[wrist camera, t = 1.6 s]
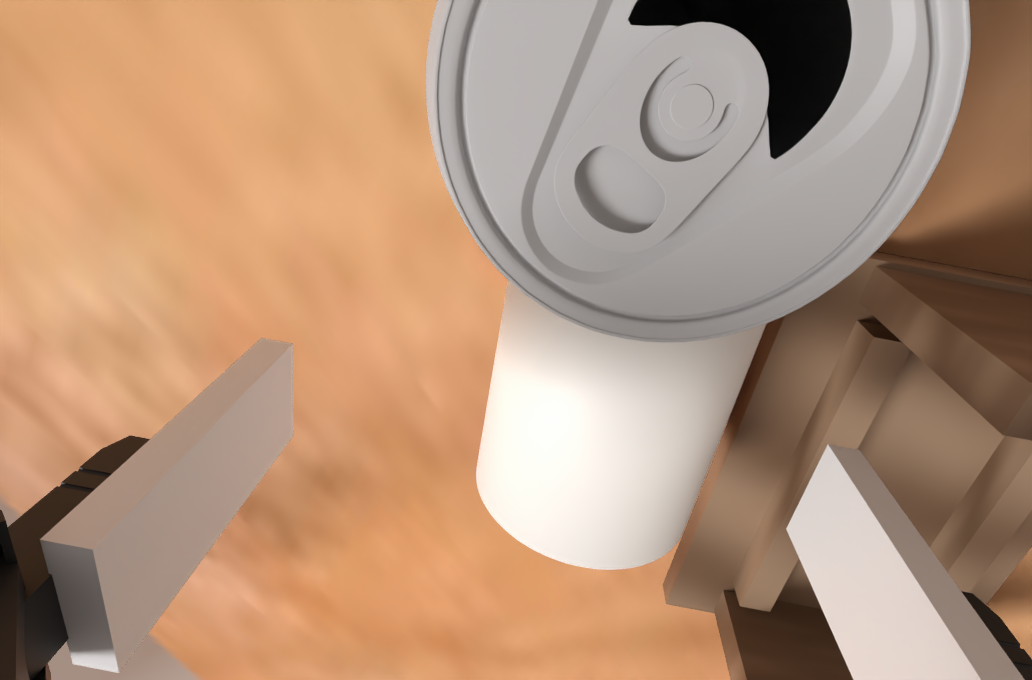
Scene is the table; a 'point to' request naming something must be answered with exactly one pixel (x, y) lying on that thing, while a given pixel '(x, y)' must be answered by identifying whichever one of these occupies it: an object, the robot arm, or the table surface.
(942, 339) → the holder
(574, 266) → the beverage can
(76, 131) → the table surface
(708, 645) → the table surface
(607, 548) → the cylinder
